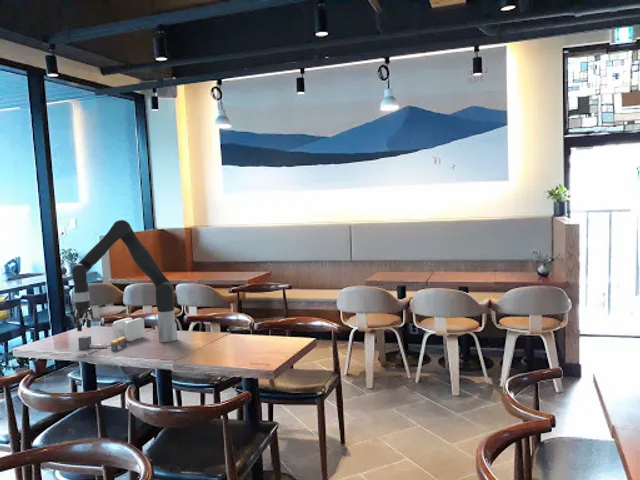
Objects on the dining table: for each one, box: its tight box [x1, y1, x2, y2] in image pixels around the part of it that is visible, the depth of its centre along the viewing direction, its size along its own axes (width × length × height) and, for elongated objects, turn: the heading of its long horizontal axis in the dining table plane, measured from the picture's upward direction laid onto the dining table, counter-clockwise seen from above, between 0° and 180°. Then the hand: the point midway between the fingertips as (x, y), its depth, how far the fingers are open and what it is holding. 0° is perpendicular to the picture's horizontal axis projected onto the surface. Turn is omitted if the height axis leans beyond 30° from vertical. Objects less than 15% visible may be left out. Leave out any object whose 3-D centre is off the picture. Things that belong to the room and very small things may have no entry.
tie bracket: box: [110, 337, 127, 352], centre depth 285 cm, size 2×11×5 cm, turn 172°
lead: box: [77, 335, 108, 350], centre depth 287 cm, size 15×4×6 cm, turn 82°
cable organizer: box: [111, 317, 146, 342], centre depth 304 cm, size 15×11×12 cm
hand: (84, 329), depth 287 cm, fingers open, 8 cm apart
